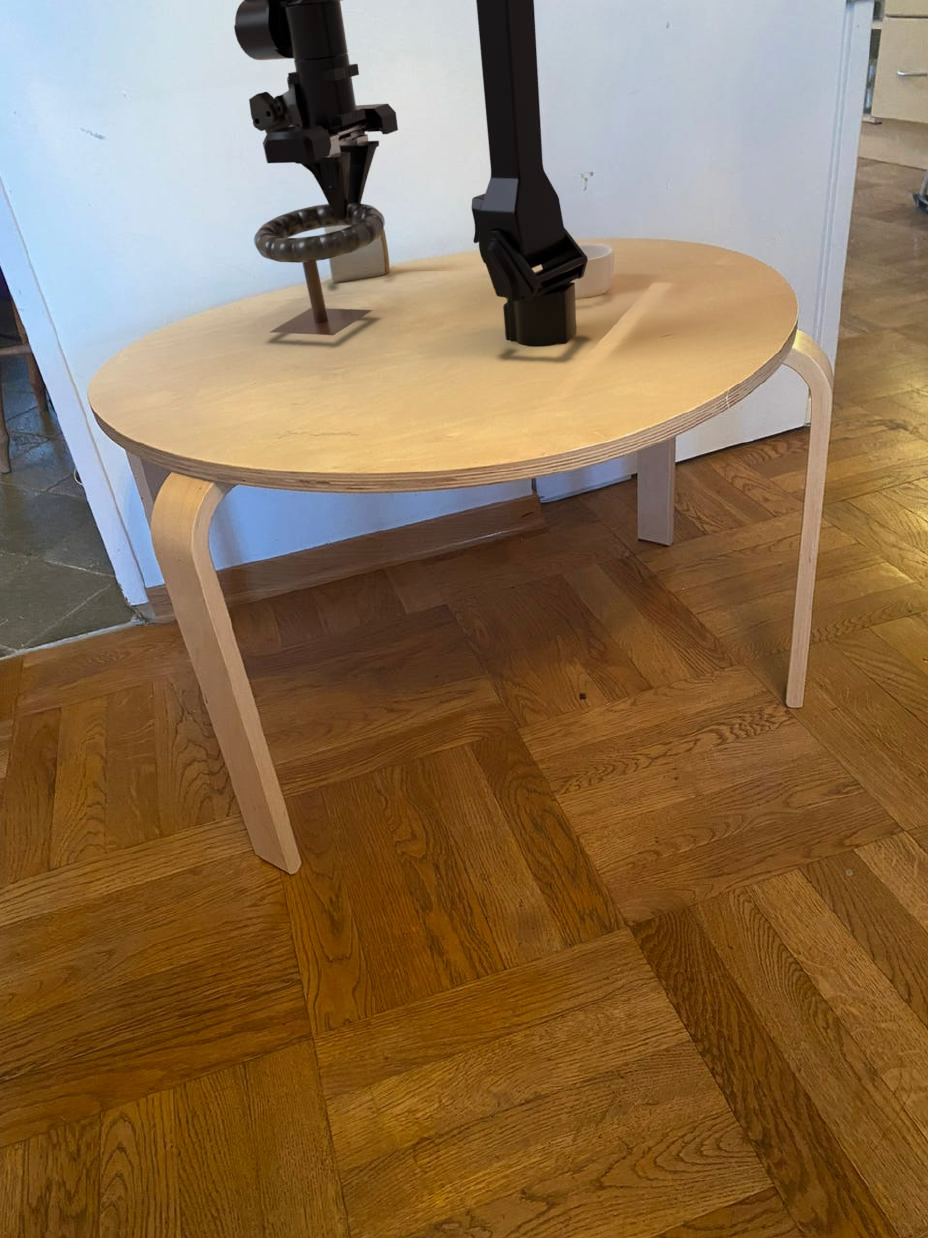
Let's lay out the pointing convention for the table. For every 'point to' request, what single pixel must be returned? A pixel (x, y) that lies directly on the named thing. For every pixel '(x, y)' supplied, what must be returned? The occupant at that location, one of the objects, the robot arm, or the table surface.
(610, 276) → the teacup
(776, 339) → the table surface
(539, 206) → the robot arm
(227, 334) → the table surface
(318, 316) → the peg stand
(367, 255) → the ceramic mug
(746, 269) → the table surface
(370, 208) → the ring
